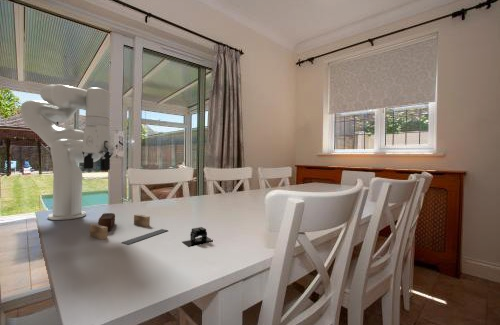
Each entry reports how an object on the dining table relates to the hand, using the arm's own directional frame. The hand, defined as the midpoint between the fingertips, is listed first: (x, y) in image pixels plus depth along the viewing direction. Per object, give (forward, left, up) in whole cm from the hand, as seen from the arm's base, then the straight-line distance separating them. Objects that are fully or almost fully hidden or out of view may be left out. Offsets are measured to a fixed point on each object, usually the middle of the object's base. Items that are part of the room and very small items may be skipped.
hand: (96, 169), depth 91 cm
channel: (+15, 0, -20) cm, 25 cm away
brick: (+7, -1, -21) cm, 22 cm away
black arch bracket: (+44, +5, -21) cm, 49 cm away
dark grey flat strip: (+27, 0, -20) cm, 33 cm away
